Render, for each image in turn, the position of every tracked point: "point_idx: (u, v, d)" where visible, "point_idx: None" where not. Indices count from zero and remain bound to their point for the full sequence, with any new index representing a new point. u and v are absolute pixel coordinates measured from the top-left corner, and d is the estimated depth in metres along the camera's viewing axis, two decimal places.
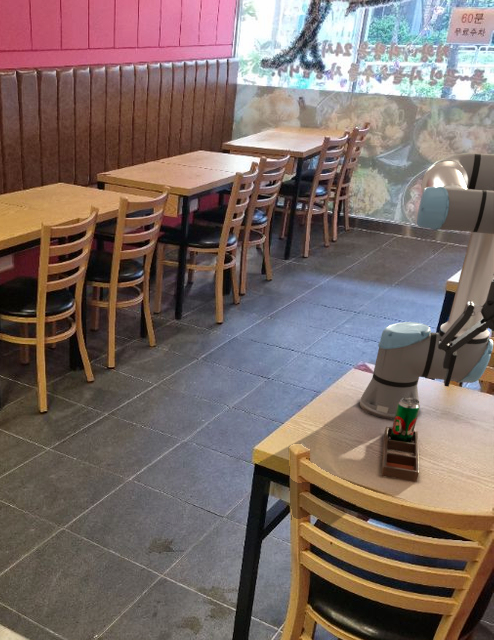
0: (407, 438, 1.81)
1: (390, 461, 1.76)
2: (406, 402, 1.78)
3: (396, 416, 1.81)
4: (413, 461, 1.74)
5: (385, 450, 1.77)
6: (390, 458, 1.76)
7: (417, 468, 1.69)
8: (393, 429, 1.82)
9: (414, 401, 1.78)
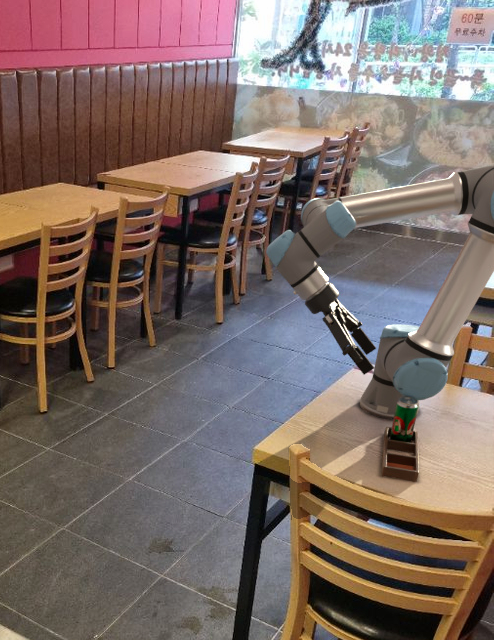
0: (406, 437, 1.81)
1: (390, 461, 1.76)
2: (405, 402, 1.78)
3: (395, 416, 1.81)
4: (413, 461, 1.74)
5: (385, 450, 1.77)
6: (390, 458, 1.76)
7: (417, 468, 1.69)
8: (392, 429, 1.82)
9: (413, 401, 1.78)
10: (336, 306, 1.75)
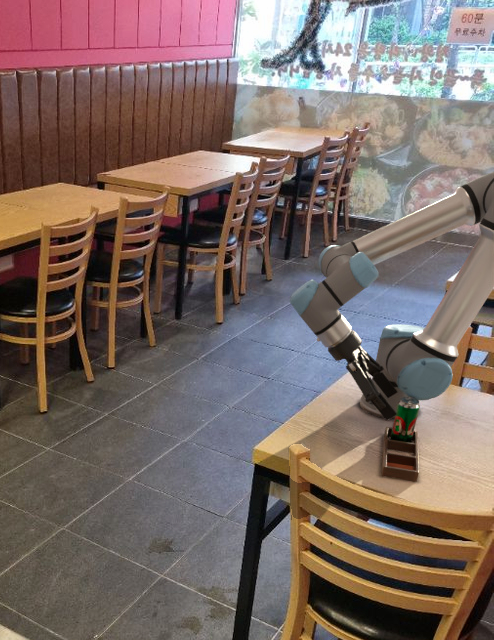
0: (407, 438, 1.81)
1: (390, 461, 1.76)
2: (406, 402, 1.78)
3: (396, 416, 1.81)
4: (413, 461, 1.74)
5: (385, 450, 1.77)
6: (390, 458, 1.76)
7: (417, 468, 1.69)
8: (393, 429, 1.82)
9: (414, 401, 1.78)
10: (359, 353, 1.78)
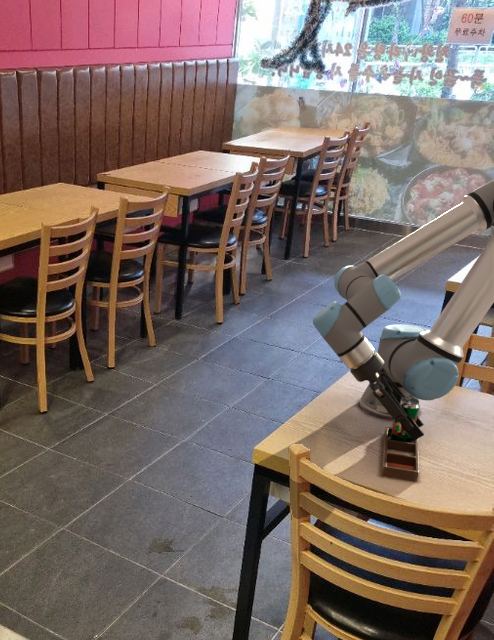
0: (407, 438, 1.81)
1: (390, 461, 1.76)
2: (406, 402, 1.78)
3: None
4: (413, 461, 1.74)
5: (385, 450, 1.77)
6: (390, 458, 1.76)
7: (417, 468, 1.69)
8: (393, 429, 1.82)
9: (414, 401, 1.78)
10: (381, 373, 1.79)
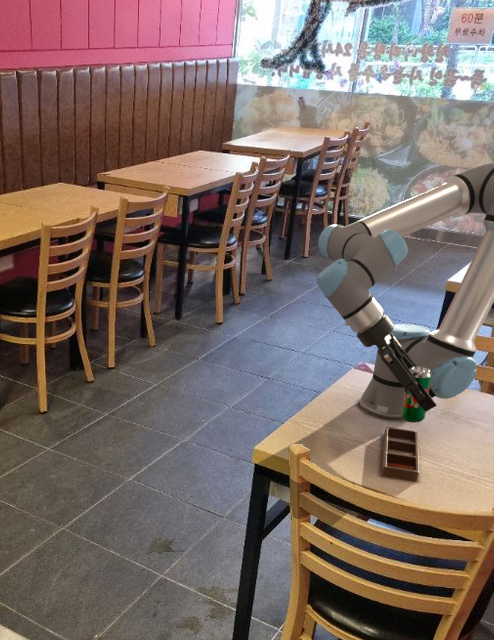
0: (420, 411, 1.67)
1: (390, 461, 1.76)
2: (416, 372, 1.63)
3: None
4: (413, 461, 1.74)
5: (385, 450, 1.77)
6: (390, 458, 1.76)
7: (417, 468, 1.69)
8: (404, 402, 1.68)
9: (425, 370, 1.64)
10: (390, 338, 1.65)
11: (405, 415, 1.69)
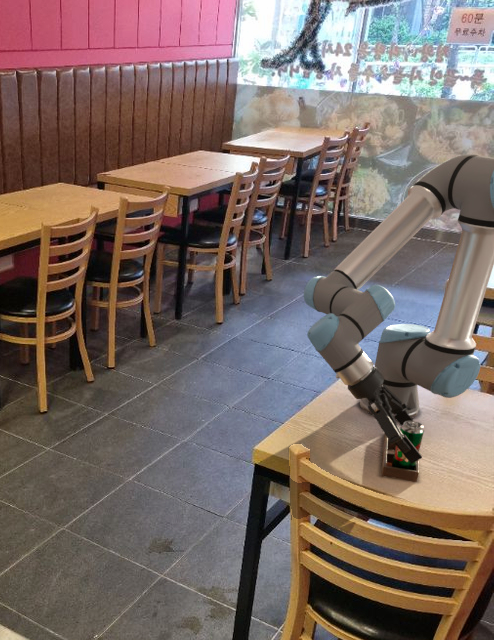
0: (410, 464, 1.69)
1: (390, 461, 1.76)
2: (409, 427, 1.66)
3: None
4: None
5: (385, 450, 1.77)
6: (390, 458, 1.76)
7: (417, 468, 1.69)
8: (395, 455, 1.70)
9: (418, 425, 1.66)
10: (380, 390, 1.67)
11: None
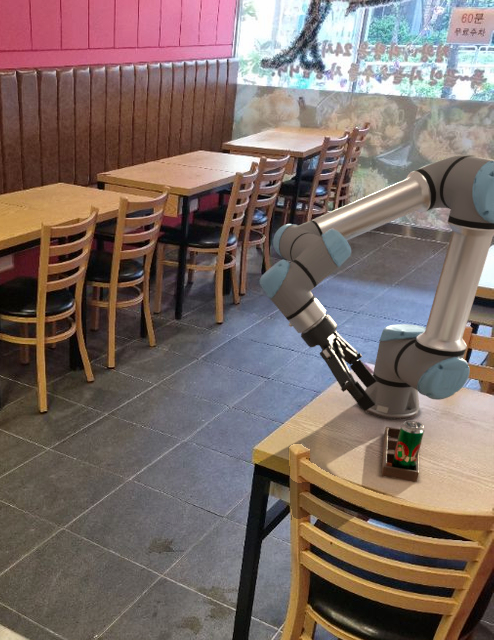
0: (410, 464, 1.69)
1: (390, 461, 1.76)
2: (409, 427, 1.66)
3: (399, 441, 1.69)
4: None
5: (385, 450, 1.77)
6: (390, 458, 1.76)
7: (417, 468, 1.69)
8: (395, 455, 1.70)
9: (418, 425, 1.66)
10: (334, 338, 1.65)
11: None
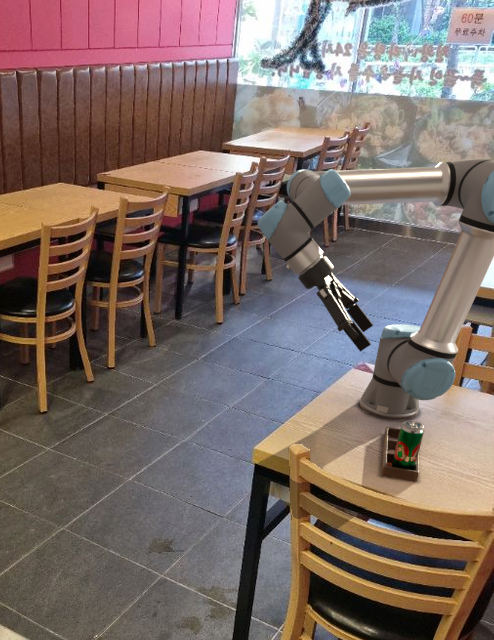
0: (410, 464, 1.69)
1: (390, 461, 1.76)
2: (409, 427, 1.66)
3: (399, 441, 1.69)
4: None
5: (385, 450, 1.77)
6: (390, 458, 1.76)
7: (417, 468, 1.69)
8: (395, 455, 1.70)
9: (418, 425, 1.66)
10: (331, 280, 1.68)
11: None
